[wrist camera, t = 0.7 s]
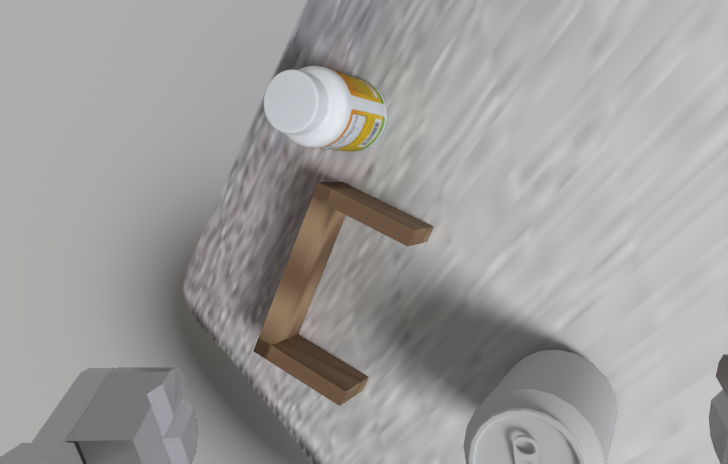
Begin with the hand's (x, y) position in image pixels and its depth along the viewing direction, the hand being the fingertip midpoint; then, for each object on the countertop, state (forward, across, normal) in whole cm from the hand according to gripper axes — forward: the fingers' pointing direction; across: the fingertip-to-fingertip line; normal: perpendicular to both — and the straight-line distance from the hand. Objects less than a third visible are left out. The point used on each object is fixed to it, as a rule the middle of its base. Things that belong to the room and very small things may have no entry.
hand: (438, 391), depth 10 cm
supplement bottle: (+40, +6, +9) cm, 42 cm away
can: (+27, -7, +26) cm, 38 cm away
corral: (+34, +7, +21) cm, 41 cm away
